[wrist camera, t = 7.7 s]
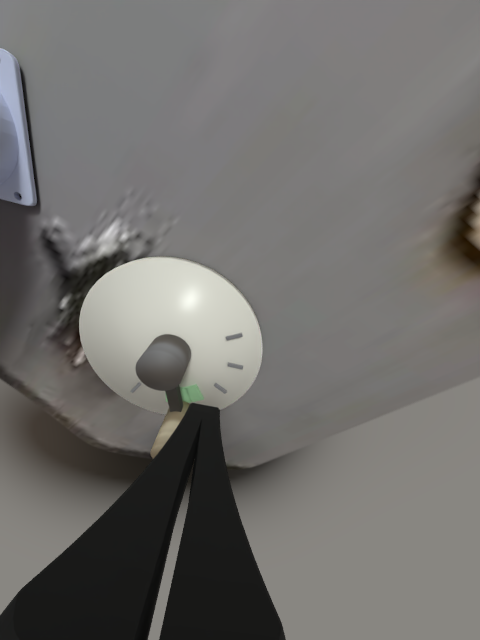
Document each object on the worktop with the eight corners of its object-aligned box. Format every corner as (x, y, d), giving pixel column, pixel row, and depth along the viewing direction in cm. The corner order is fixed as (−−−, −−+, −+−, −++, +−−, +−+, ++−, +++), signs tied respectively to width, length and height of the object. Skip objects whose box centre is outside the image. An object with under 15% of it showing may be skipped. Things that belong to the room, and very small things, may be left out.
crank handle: (146, 334, 19) (114, 371, 14) (188, 333, 19) (169, 370, 14) (166, 416, 23) (146, 464, 18) (201, 416, 23) (189, 464, 18)
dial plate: (90, 391, 23) (83, 400, 22) (81, 232, 17) (69, 234, 16) (238, 421, 24) (238, 431, 23) (285, 284, 18) (288, 288, 17)
